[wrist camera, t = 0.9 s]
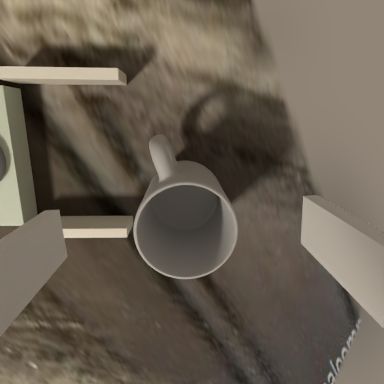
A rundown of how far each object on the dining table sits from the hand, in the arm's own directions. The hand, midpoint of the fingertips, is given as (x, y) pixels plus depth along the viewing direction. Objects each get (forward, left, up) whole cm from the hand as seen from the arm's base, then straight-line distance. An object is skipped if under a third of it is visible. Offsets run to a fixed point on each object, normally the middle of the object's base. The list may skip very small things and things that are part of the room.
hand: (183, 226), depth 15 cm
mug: (0, -1, -18) cm, 18 cm away
